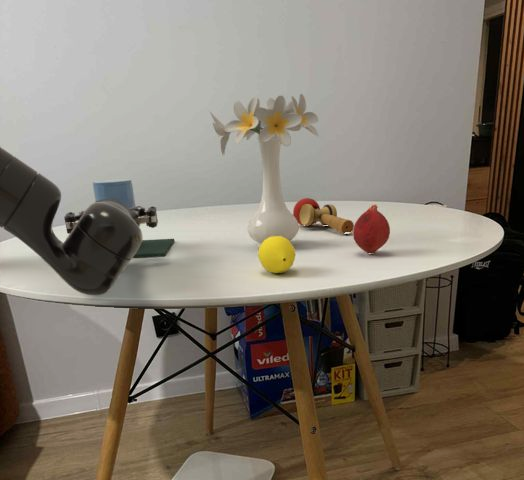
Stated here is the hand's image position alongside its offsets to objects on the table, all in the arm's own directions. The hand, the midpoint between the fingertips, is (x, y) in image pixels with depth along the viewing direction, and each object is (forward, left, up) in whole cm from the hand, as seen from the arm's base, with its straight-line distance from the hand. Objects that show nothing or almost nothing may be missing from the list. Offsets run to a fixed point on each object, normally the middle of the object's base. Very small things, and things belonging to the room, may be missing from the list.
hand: (114, 214), depth 87 cm
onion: (+43, -9, -8) cm, 44 cm away
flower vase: (+27, +1, -8) cm, 28 cm away
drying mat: (-1, +5, -7) cm, 9 cm away
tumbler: (-1, +6, +5) cm, 8 cm away
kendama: (+39, +17, -8) cm, 43 cm away
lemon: (+27, -18, -8) cm, 33 cm away
